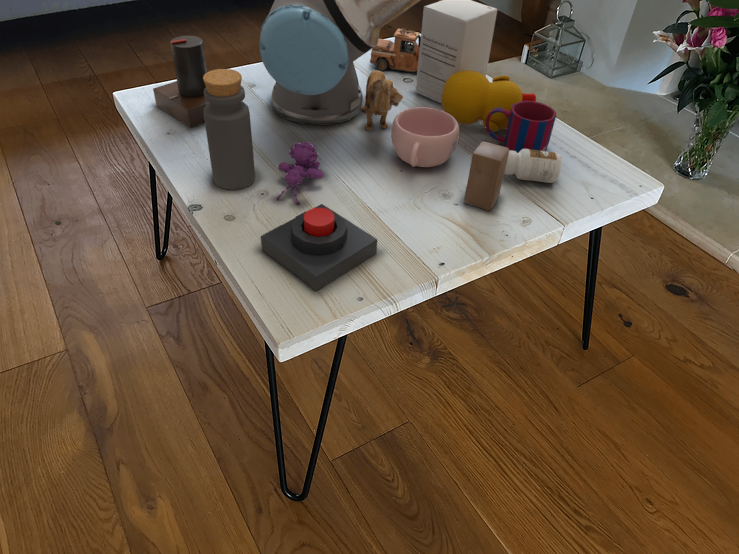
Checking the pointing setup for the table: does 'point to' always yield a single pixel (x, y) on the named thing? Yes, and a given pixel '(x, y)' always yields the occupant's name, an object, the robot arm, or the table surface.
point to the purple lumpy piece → (301, 165)
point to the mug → (424, 136)
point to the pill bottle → (534, 165)
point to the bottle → (228, 130)
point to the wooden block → (486, 175)
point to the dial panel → (180, 104)
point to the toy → (480, 98)
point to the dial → (189, 65)
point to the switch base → (319, 249)
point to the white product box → (453, 43)
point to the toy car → (397, 52)
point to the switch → (319, 222)
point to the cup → (526, 126)
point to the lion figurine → (379, 98)
